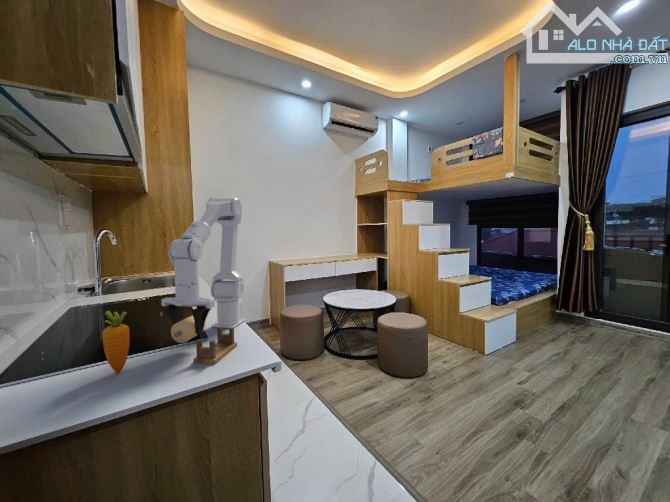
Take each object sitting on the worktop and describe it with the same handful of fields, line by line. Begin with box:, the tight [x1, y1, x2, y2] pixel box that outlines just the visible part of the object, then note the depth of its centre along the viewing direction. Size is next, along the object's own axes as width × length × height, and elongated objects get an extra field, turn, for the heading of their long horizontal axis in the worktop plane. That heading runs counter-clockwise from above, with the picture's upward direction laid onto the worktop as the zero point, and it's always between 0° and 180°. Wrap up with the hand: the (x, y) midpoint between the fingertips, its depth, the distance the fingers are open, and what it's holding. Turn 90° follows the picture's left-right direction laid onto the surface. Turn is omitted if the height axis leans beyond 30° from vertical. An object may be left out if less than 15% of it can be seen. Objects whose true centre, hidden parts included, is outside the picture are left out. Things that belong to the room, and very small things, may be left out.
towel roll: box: [170, 314, 207, 344], centre depth 77 cm, size 6×10×6 cm, turn 171°
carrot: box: [101, 310, 130, 374], centre depth 66 cm, size 5×5×15 cm
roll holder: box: [193, 327, 238, 365], centre depth 76 cm, size 6×11×6 cm, turn 171°
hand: (189, 332), depth 77 cm, fingers closed on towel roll, 5 cm apart
